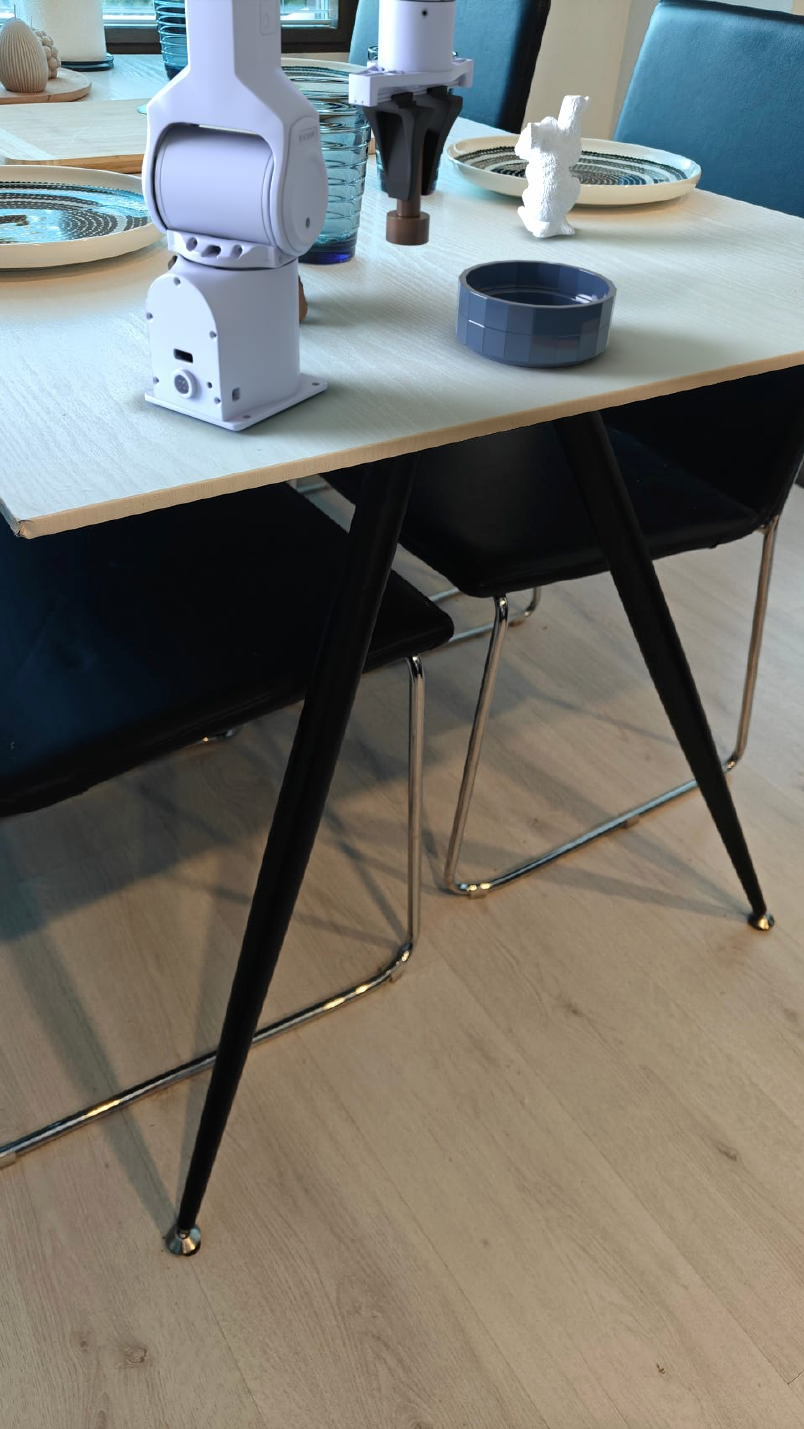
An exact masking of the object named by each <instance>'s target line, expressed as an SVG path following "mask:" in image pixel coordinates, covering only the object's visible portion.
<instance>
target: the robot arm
mask: <svg viewBox="0 0 804 1429" xmlns="http://www.w3.org/2000/svg"><path fill="white" fill-rule="evenodd" d="M378 5H379V6H378V13H379V14H378V42H377V59H373V60H368V61H366V62H367V63H366V68H364V69H362V70H360V71H357V72H356V71H355V72H351V73H349V75H348V104H351V105H357V106H361V111H362V113H363V115H364V117H365V118H366V121H367V123H368V125H369V127H370V129H371V131H372V132H371V133H372V134H373V137H374V139H375V142H376V143H375V144H376V146H377V149H378V154H379V158H380V162H381V167H382V172H383V177H384V181H385V188H386V192H387V196H388V198H391V199H395V200H397V199H400V200H404V201H411V200H413V198H414V194H415V191H416V186H417V179H418V170H419V161H420V155H421V150H422V145H423V141H424V152H423V172H422V192H421V196H424V197H425V196H426V197H427V196H430V194H431V191H432V189H433V186H434V181H435V179H436V175H437V171H438V167H439V164H440V160H441V157H442V154H443V150H444V147H445V145H446V142H447V139H448V137H449V135H450V133H451V130H452V128H453V126H454V124H455V123H456V120H457V119H458V117H459V115H460V114H461V112H462V111H463V108H464V107H463V106H464V97H463V96H461V95H458V94H457V95H456V94H451V93H448V90H449V89H455V88H464V89H468V88H472V87H473V82H474V81H473V80H474V68H475V60H474V59H470V58H462V57H456V56H454V42H455V25H456V8H457V7H456V6H457V0H379V4H378ZM184 9H185V10H184V13H185V29H186V46H187V62H188V63H187V64H186V66H185V67H184V68H183V69H181V71H180V72H178V73H177V74H176V75H175V76H174V77H173V78H172V79H170V81H168V82H167V84H165V85H164V86H163V87H162V88H161V89H160V90H158V91H157V92H156V94H155V95H153V97H152V98H151V99H150V100H149V101H148V103H147V104H146V117H147V118H146V119H147V130H146V132H147V133H146V145H145V152H144V156H143V160H142V166H141V188H142V190H141V191H142V195H143V199H144V200H143V201H144V203H145V206H146V209H147V211H148V214H149V217H150V219H151V220H152V222H153V224H154V225H155V227H156V229H158V230H159V231H160V232H161V233H162V234H163V235H167V236H166V237H167V249H168V251H169V252H172V253H173V252H174V253H177V254H178V253H179V254H178V255H177V257H178V258H177V261H176V263H175V264H174V266H173V267H172V268H171V269H170V270H169V269H168V271H167V272H165V273H163V274H161V275H160V276H158V277H157V278H156V279H155V280H154V281H153V282H152V283H151V285H150V287H149V289H148V291H147V295H146V298H145V299H146V300H145V323H146V332H147V341H148V352H149V360H150V367H151V368H150V370H151V381H152V389H150V390H148V391H146V392H145V393H144V398H145V399H144V400H145V401H146V402H148V403H151V404H154V405H157V406H160V407H162V408H166V409H169V410H171V411H174V412H177V413H179V414H183V415H186V416H190V417H192V418H195V419H198V420H200V421H204V422H207V423H209V424H212V425H216V426H218V427H221V428H224V429H227V430H230V431H235V432H239V431H242V430H245V429H246V428H248V427H251V426H252V425H254V424H258V423H260V422H261V421H262V420H266V419H268V418H269V417H271V416H274V415H275V414H278V413H280V412H281V411H284V410H286V409H288V408H290V407H292V406H294V405H296V404H298V403H301V402H302V401H304V400H306V399H308V398H311V397H314V396H315V395H317V394H319V393H321V392H323V391H326V390H327V389H328V381H327V380H325V379H323V378H319V377H316V376H312V375H309V374H306V373H302V372H301V358H300V355H301V353H300V352H301V350H300V323H299V285H298V275H299V257H300V256H304V255H305V254H307V253H308V251H309V250H310V249H311V248H312V246H313V245H314V244H315V243H316V241H317V240H318V238H319V237H320V235H321V233H322V230H323V229H324V228H323V227H324V226H325V221H326V218H327V213H328V207H329V194H330V192H329V191H330V190H329V177H328V171H327V167H326V166H327V165H326V163H325V160H324V154H323V146H322V137H321V136H322V135H321V124H320V114H319V111H318V110H317V108H316V107H315V106H314V104H312V103H311V101H310V100H309V99H308V98H307V97H306V95H305V94H303V92H302V91H301V90H300V89H299V88H298V87H297V85H296V84H295V83H294V82H293V81H292V80H291V79H290V78H289V77H288V76H287V74H286V73H285V72H284V70H283V68H282V30H281V28H282V27H281V26H282V25H281V22H282V20H281V0H184ZM205 126H208V127H205ZM212 127H213V128H212ZM214 127H215V128H214ZM216 127H217V128H216ZM221 128H223V129H221ZM228 129H231V130H228ZM237 130H239V131H237ZM245 131H246V132H245Z"/></svg>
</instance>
